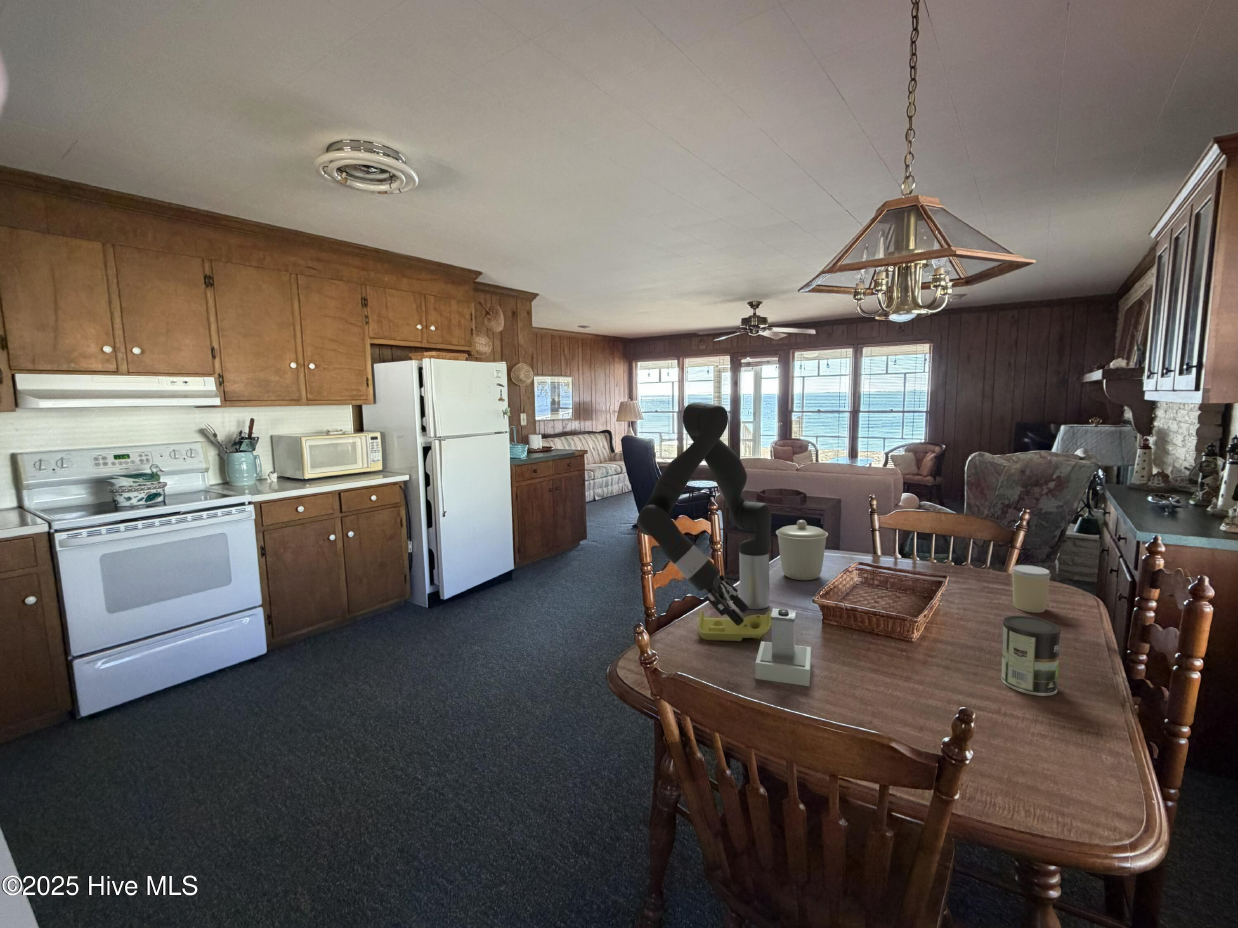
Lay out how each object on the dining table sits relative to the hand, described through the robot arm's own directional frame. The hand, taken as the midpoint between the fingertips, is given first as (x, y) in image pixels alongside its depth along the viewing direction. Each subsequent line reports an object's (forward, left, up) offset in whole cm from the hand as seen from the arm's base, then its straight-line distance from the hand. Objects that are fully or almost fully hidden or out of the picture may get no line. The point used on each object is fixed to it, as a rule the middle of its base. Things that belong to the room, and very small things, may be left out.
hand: (743, 616), depth 135 cm
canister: (-75, +10, -13) cm, 77 cm away
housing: (0, +9, -8) cm, 13 cm away
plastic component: (-17, -5, -13) cm, 22 cm away
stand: (0, +9, -13) cm, 16 cm away
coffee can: (-9, +61, -13) cm, 63 cm away
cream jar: (-61, +76, -13) cm, 99 cm away
